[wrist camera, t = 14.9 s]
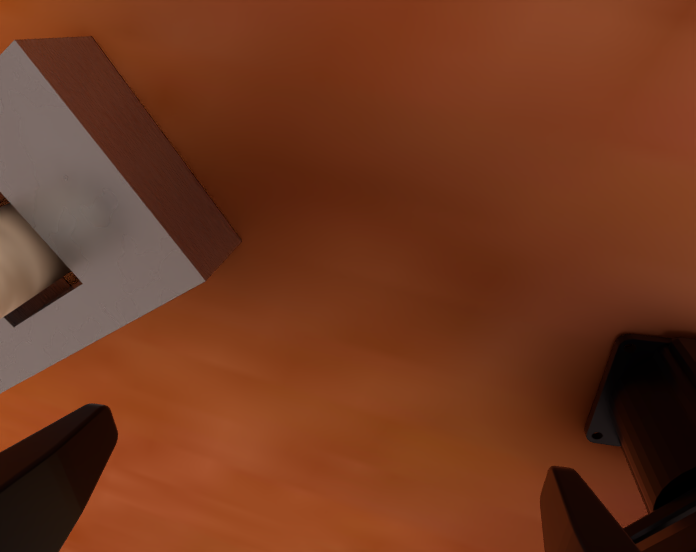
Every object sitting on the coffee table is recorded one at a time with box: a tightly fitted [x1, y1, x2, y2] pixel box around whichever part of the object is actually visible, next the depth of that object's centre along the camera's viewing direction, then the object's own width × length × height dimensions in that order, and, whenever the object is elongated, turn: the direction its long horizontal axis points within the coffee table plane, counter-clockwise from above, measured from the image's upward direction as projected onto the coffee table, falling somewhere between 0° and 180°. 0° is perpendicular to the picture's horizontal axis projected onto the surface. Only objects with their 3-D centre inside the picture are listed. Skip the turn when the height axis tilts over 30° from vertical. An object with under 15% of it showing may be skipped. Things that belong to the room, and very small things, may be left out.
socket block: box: [0, 36, 242, 393], centre depth 22 cm, size 10×16×4 cm, turn 122°
